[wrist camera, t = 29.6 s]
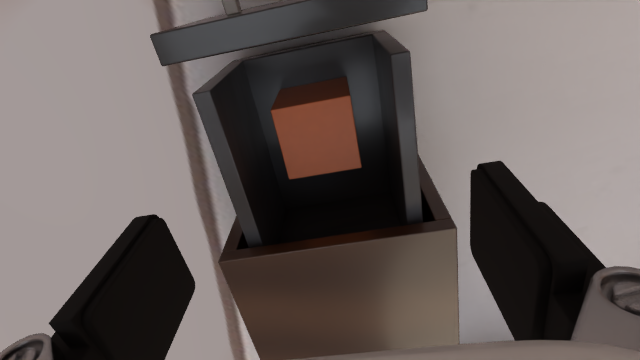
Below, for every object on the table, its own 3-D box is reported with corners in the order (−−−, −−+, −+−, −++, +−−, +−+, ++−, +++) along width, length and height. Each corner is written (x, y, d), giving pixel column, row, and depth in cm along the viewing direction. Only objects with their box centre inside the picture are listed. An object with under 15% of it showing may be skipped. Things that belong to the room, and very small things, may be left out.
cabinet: (253, 172, 26) (217, 262, 18) (413, 145, 25) (457, 227, 17) (297, 311, 33) (287, 423, 25) (426, 295, 32) (461, 408, 23)
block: (279, 89, 21) (269, 110, 18) (346, 76, 21) (350, 95, 17) (294, 150, 23) (288, 180, 20) (356, 139, 23) (362, 168, 19)
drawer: (177, -82, 18) (87, -120, 12) (381, -135, 17) (416, -212, 10) (270, 212, 27) (250, 290, 20) (411, 190, 26) (441, 265, 19)
